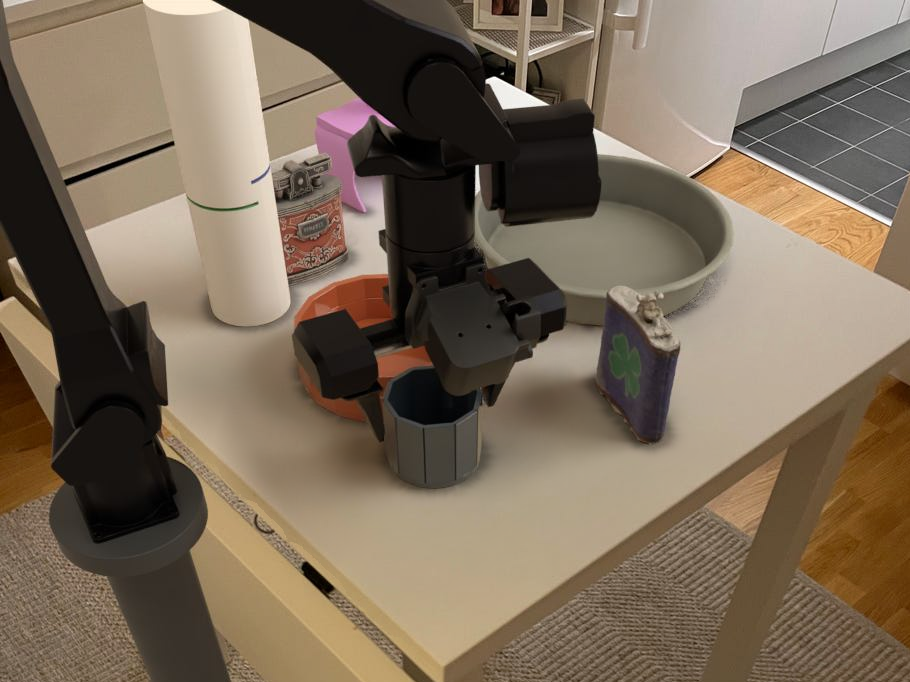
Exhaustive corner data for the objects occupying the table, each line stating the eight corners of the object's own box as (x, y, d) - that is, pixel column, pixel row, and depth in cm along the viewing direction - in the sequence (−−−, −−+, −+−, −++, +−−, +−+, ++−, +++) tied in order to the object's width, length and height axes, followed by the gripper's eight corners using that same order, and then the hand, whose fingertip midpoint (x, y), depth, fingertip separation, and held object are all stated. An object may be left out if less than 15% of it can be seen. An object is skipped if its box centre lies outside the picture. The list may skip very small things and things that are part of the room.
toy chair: (312, 189, 103) (293, 30, 91) (373, 159, 107) (362, 3, 95) (367, 219, 100) (355, 58, 88) (428, 186, 104) (425, 29, 92)
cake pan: (579, 372, 85) (584, 327, 82) (418, 243, 97) (417, 199, 94) (778, 279, 94) (791, 235, 91) (609, 172, 106) (614, 129, 103)
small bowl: (413, 501, 75) (409, 440, 71) (373, 441, 79) (367, 380, 75) (496, 471, 77) (499, 410, 73) (453, 415, 82) (453, 354, 77)
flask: (588, 380, 85) (604, 266, 76) (619, 372, 85) (637, 258, 77) (642, 448, 79) (665, 334, 71) (674, 439, 80) (700, 324, 72)
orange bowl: (339, 442, 79) (333, 397, 76) (276, 344, 87) (268, 299, 83) (496, 392, 83) (497, 346, 80) (423, 303, 91) (421, 258, 87)
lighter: (284, 290, 92) (268, 185, 84) (264, 274, 93) (246, 169, 86) (356, 260, 95) (346, 157, 87) (335, 245, 97) (324, 141, 89)
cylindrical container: (306, 296, 91) (264, -11, 72) (255, 335, 88) (197, 23, 68) (246, 272, 94) (189, -32, 74) (194, 309, 90) (120, -1, 70)
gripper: (343, 336, 56) (364, 529, 69) (621, 256, 62) (594, 448, 74) (274, 240, 62) (305, 433, 75) (534, 174, 68) (522, 364, 80)
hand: (434, 421), depth 76 cm, fingers open, 9 cm apart
